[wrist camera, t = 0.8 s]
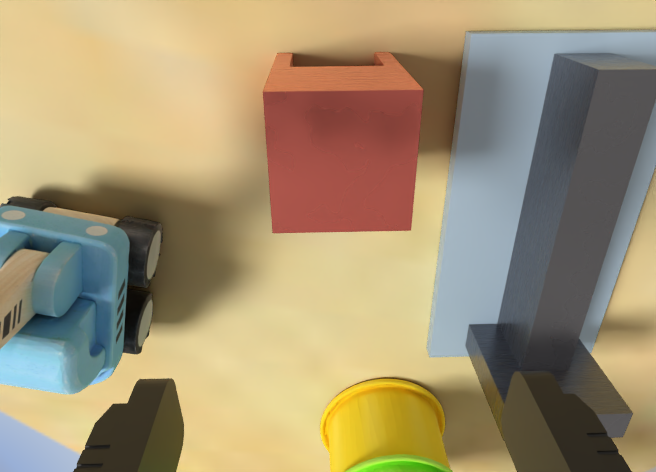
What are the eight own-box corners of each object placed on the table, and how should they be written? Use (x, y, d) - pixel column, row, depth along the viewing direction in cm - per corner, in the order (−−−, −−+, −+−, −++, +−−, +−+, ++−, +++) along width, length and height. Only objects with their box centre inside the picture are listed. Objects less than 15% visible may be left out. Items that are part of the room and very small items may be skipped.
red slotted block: (277, 53, 26) (263, 91, 18) (389, 52, 26) (423, 89, 18) (283, 160, 29) (272, 233, 21) (383, 158, 29) (410, 230, 21)
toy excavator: (177, 109, 27) (13, 286, 12) (155, 334, 35) (38, 610, 20) (14, 72, 26) (-388, 218, 11) (29, 314, 34) (-195, 591, 19)
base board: (466, 31, 26) (471, 33, 25) (688, 29, 26) (702, 31, 25) (426, 347, 36) (429, 357, 35) (584, 343, 37) (591, 353, 36)
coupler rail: (516, 54, 25) (594, 87, 18) (648, 52, 25) (776, 85, 18) (465, 346, 35) (503, 440, 28) (560, 343, 35) (622, 437, 28)
